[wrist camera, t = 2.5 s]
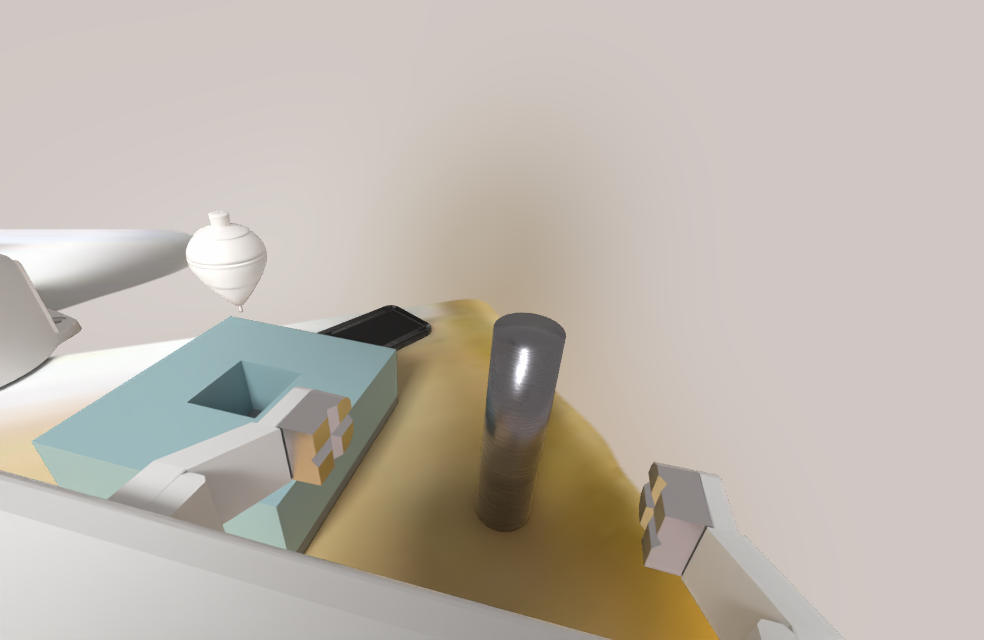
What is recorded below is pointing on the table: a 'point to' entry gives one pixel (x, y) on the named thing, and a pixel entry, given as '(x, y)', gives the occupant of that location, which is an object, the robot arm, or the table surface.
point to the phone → (382, 328)
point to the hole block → (228, 417)
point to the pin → (516, 416)
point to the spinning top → (227, 258)
